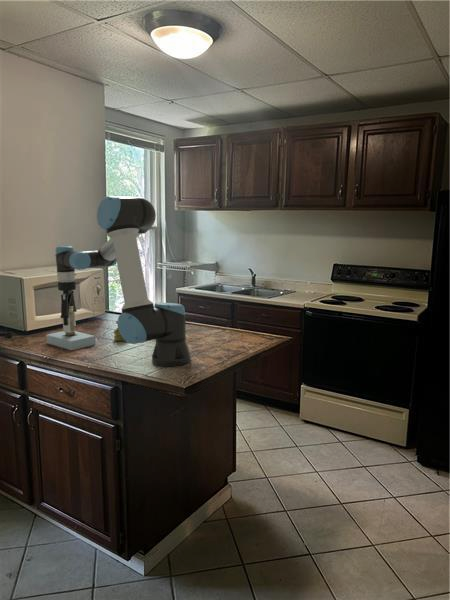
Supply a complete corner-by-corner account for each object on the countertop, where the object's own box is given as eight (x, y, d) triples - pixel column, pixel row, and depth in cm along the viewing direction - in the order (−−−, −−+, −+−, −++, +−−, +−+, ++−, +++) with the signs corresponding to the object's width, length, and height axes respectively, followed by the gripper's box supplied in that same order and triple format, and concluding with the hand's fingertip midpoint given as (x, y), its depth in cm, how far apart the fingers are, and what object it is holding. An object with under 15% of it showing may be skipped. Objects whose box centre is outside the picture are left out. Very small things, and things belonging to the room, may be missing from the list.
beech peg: (72, 342, 199) (69, 307, 197) (63, 342, 200) (61, 307, 198) (77, 340, 203) (75, 306, 201) (69, 340, 204) (66, 305, 202)
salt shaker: (118, 337, 212) (117, 317, 211) (132, 338, 211) (131, 317, 209) (111, 341, 205) (110, 320, 204) (126, 342, 204) (125, 321, 202)
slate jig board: (95, 344, 200) (94, 335, 200) (71, 350, 191) (71, 341, 190) (70, 337, 213) (69, 329, 212) (46, 343, 204) (46, 334, 203)
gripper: (69, 284, 186) (73, 334, 190) (80, 277, 209) (83, 323, 213) (51, 284, 185) (54, 335, 189) (63, 278, 208) (67, 323, 212)
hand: (69, 329), depth 201 cm, fingers open, 11 cm apart
